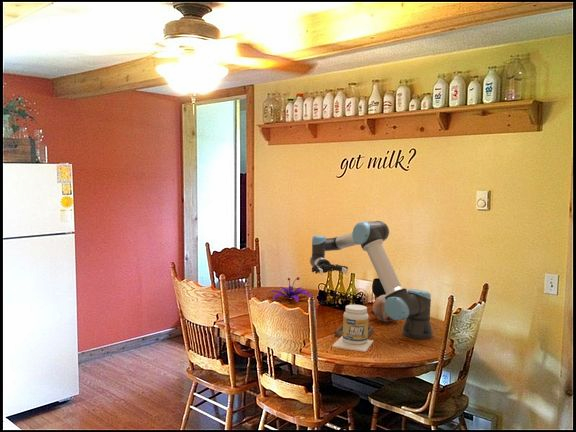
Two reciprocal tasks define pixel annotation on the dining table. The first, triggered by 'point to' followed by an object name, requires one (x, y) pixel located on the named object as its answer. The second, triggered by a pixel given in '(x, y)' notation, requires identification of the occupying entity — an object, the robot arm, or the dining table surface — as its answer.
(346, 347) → the off-white mat
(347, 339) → the supplement tub
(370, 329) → the walnut collar
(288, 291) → the decorative flower
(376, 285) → the wine glass
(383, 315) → the ornament
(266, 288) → the dining table surface
